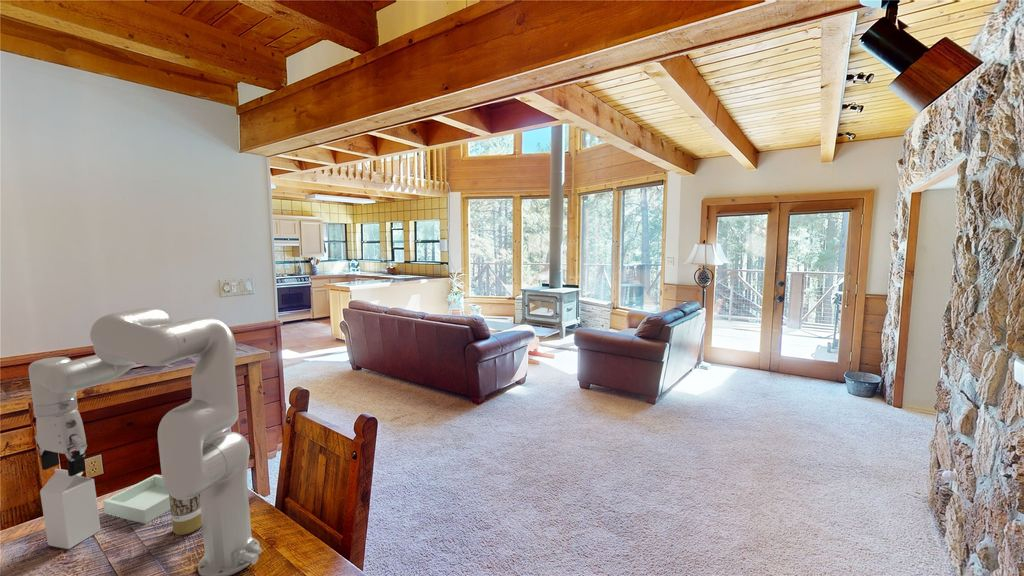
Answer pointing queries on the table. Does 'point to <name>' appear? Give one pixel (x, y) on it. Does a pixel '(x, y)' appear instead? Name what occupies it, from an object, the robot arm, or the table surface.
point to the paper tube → (185, 515)
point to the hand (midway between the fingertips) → (64, 470)
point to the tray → (140, 501)
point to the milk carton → (69, 509)
